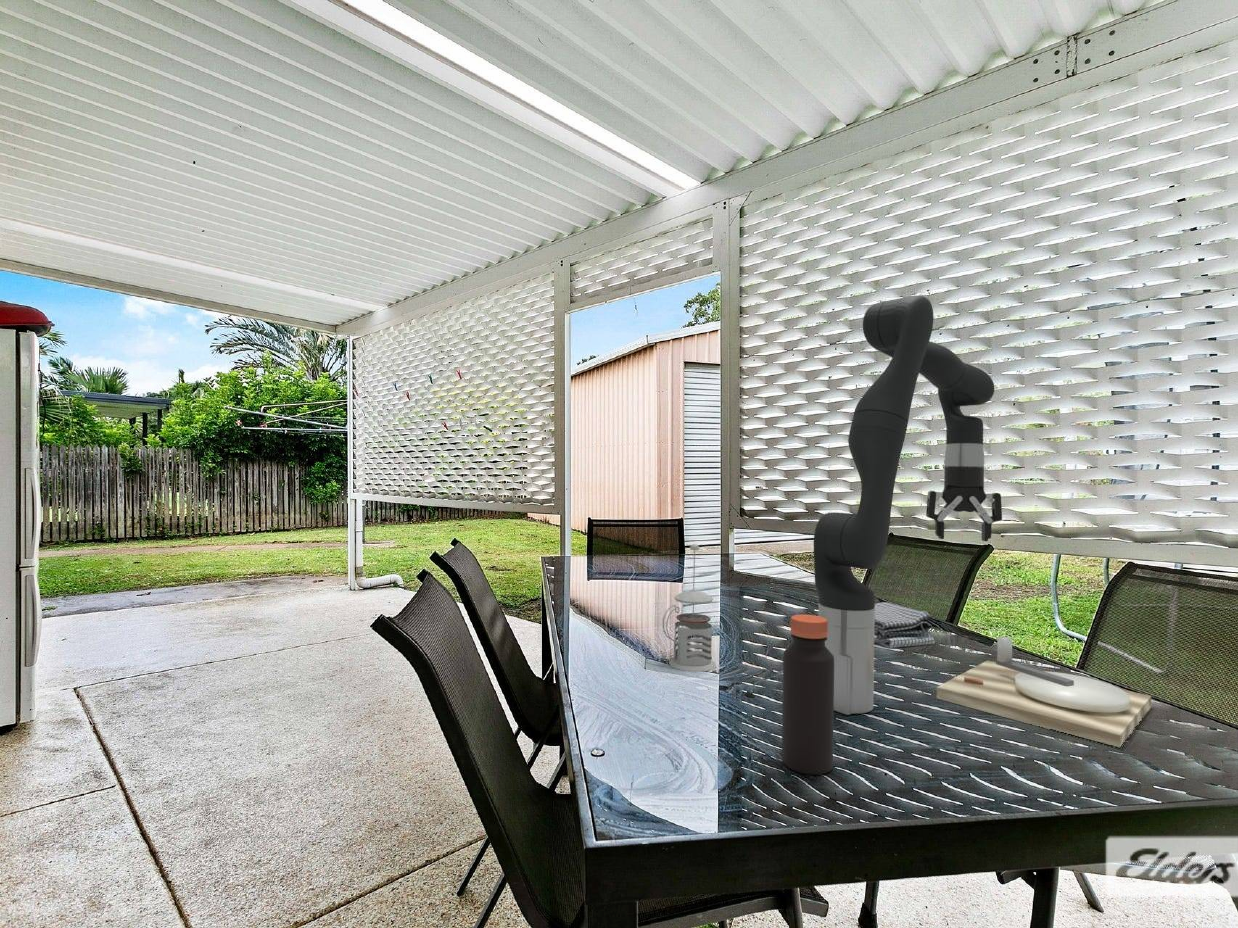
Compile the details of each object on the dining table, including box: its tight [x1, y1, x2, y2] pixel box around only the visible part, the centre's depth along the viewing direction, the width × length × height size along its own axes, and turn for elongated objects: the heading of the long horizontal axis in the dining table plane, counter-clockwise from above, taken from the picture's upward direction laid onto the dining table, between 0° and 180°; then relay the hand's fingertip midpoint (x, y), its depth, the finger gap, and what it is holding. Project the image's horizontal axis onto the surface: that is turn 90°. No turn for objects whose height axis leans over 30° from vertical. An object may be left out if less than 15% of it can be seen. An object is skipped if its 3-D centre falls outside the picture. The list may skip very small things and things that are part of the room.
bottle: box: [781, 614, 835, 776], centre depth 85 cm, size 7×7×20 cm
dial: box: [995, 635, 1130, 713], centre depth 108 cm, size 16×21×7 cm
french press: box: [662, 543, 717, 673], centre depth 128 cm, size 10×12×25 cm
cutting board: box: [936, 659, 1152, 748], centre depth 110 cm, size 26×26×3 cm
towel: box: [874, 601, 936, 649], centre depth 153 cm, size 15×18×8 cm
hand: (962, 539), depth 133 cm, fingers open, 8 cm apart
